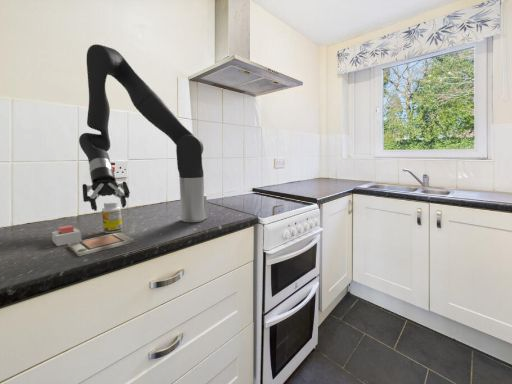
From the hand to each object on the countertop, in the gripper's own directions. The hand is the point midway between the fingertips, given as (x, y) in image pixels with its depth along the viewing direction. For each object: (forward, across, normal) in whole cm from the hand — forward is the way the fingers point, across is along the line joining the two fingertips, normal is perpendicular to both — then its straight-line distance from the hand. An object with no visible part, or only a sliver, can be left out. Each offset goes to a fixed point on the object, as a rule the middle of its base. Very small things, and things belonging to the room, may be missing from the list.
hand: (110, 207), depth 87 cm
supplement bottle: (+7, 0, +4) cm, 8 cm away
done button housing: (+9, -13, +2) cm, 16 cm away
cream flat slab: (+16, -5, -5) cm, 17 cm away
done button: (+7, -13, +1) cm, 15 cm away
